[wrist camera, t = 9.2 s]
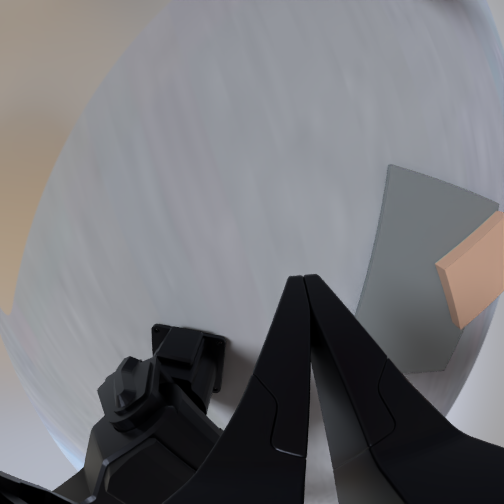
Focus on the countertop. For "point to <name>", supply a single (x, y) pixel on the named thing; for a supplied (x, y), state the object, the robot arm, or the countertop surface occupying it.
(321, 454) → the countertop surface
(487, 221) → the tile
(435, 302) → the mat
